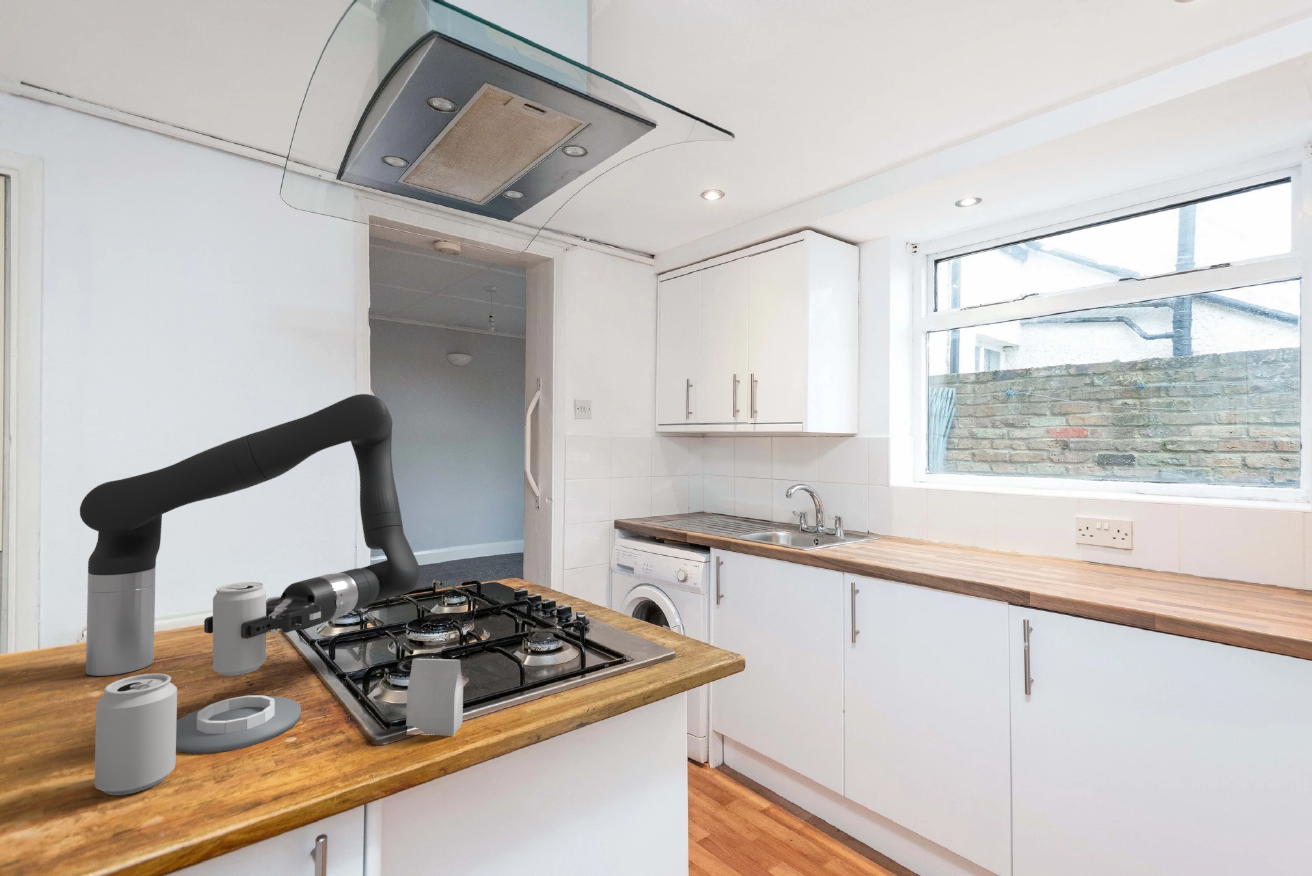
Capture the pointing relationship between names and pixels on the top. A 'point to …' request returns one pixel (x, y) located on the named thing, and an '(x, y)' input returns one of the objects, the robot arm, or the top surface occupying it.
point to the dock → (235, 723)
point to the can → (135, 734)
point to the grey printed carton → (435, 696)
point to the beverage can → (237, 628)
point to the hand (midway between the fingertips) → (224, 628)
